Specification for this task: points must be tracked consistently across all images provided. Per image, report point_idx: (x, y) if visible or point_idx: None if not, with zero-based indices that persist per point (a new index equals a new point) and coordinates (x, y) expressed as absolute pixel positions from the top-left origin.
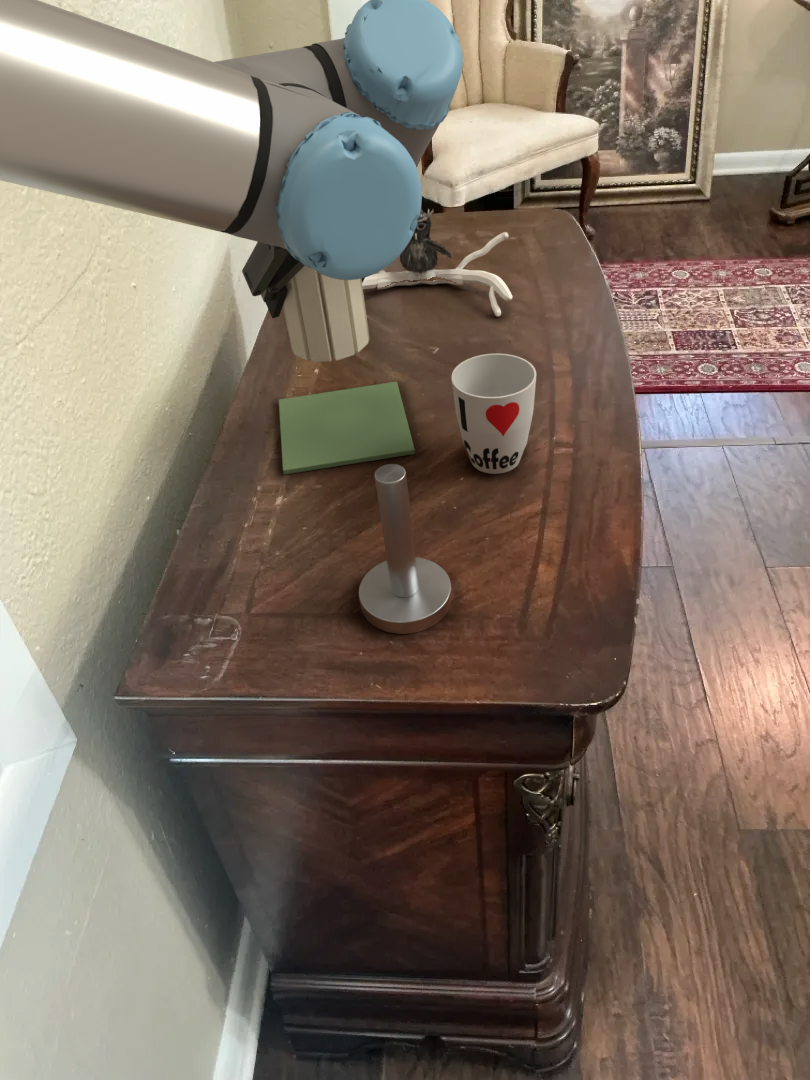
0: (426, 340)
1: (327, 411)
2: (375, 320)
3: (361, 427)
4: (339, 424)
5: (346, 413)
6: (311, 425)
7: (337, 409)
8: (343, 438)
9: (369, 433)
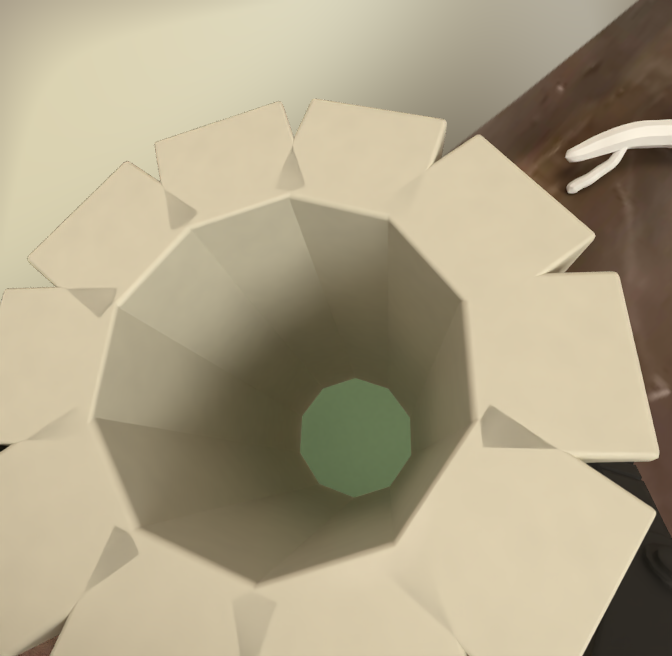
0: (667, 352)
1: (372, 396)
2: (632, 229)
3: (377, 484)
4: (360, 443)
5: (390, 427)
6: (328, 406)
7: (387, 405)
8: (336, 482)
9: None
